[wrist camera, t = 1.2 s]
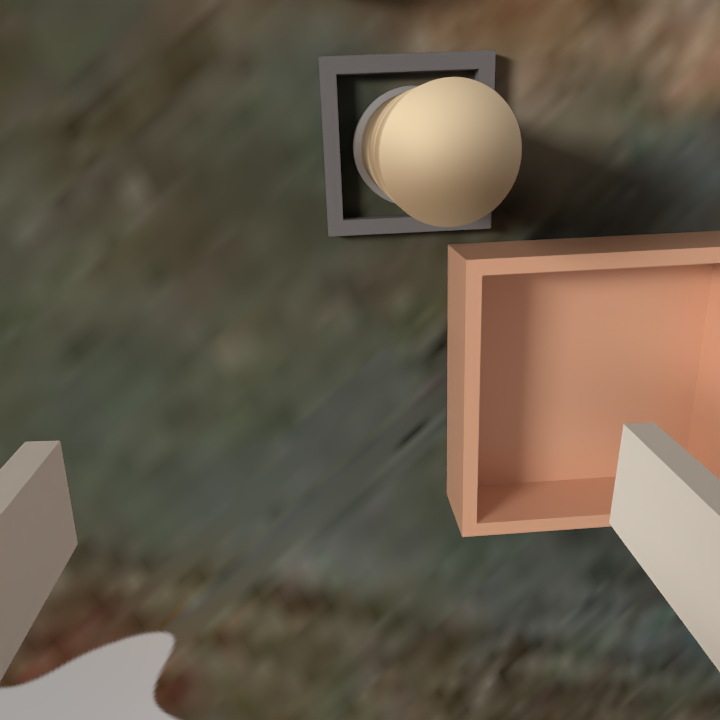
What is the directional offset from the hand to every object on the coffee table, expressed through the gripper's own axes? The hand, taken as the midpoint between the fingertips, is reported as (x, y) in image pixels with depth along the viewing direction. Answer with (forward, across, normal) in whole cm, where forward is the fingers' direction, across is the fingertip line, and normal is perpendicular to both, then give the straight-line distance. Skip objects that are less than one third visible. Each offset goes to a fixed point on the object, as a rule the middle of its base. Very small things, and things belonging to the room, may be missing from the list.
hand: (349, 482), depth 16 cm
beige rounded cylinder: (+22, +4, +7) cm, 24 cm away
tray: (+22, +15, -6) cm, 27 cm away
